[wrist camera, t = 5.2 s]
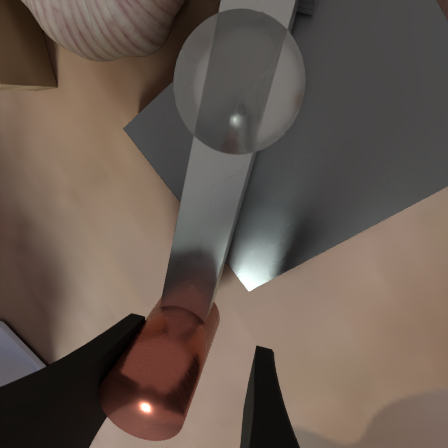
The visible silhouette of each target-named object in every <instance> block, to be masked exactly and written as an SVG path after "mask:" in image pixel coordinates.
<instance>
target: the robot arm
mask: <svg viewBox="0 0 448 448" xmlns="http://www.w3.org/2000/svg"><path fill="white" fill-rule="evenodd" d="M144 321H145V317H144V316H140V315H137V314H133V313H131V314H130V315H128V316H127V317H125V318H124V319H122V320H121V321H119V322H118V323H117V324H115V325H114V326H112V327H111V328H109V329H108V330H106V331H105V332H103V333H102V334H100V335H99V336H97V337H96V338H94V339H93V340H91V341H90V342H88V343H87V344H85V345H83V346H82V347H80V348H78V349H77V350H75V351H73V352H72V353H70V354H68V355H67V356H65V357H63V358H61V359H59V360H58V361H56V362H54V363H52V364H50V365H48V366H46V365H45V364H44V363H43V362H42V361H41V360H40V359H39V358H38V357H37V356H36V355H35V354H34V353H33V352H32V351H31V350H30V349H29V348H28V347H27V346H26V345H25V344H24V343H23V342H22V341H21V340H20V339H19V338H18V337H17V335H16V334H15V333H14V332H13V331H12V330H11V329H10V328H9V327H8V326H7V325H6V324H5V323H4V322H2V321H0V448H89V447H90V445H91V443H92V441H93V439H94V437H95V436H96V434H97V432H98V431H99V429H100V427H101V426H102V424H103V422H104V421H105V419H106V418H107V415H106V414H105V413H104V411H103V409H102V407H101V405H100V402H99V394H98V391H99V387H100V385H101V383H102V382H103V380H104V379H105V377H106V376H107V374H108V373H109V371H110V370H111V369H112V367H113V366H114V364H115V363H116V361H117V360H118V359H119V357H120V356H121V354H122V353H123V351H124V350H125V348H126V347H127V346H128V344H129V343H130V341H131V340H132V338H133V337H134V336H135V334H136V333H137V331H138V330H139V328H140V327H141V326H142V324H143V323H144ZM240 448H300V447H299V444H298V442H297V439H296V437H295V434H294V431H293V429H292V426H291V423H290V420H289V417H288V414H287V411H286V408H285V405H284V401H283V398H282V394H281V390H280V386H279V382H278V378H277V373H276V368H275V361H274V352H273V351H272V349H268V348H264V347H260V346H256V350H255V355H254V359H253V364H252V368H251V373H250V378H249V382H248V387H247V393H246V398H245V404H244V410H243V421H242V433H241V444H240Z"/></svg>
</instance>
